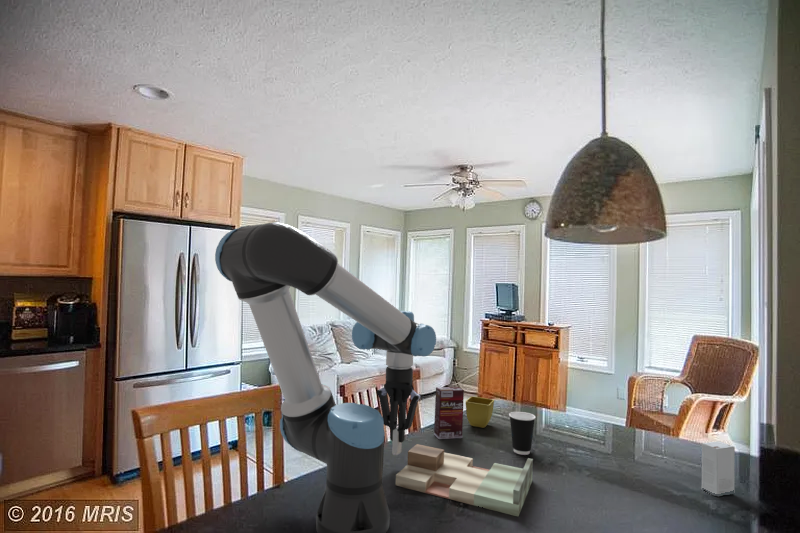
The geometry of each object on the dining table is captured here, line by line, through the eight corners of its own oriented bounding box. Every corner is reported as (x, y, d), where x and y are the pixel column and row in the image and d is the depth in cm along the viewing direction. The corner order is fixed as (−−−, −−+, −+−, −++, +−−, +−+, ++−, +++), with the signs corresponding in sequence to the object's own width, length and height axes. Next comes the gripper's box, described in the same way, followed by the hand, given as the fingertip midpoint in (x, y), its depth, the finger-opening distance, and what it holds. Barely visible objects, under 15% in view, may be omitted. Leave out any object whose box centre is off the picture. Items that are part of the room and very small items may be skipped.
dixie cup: (503, 448, 134) (503, 412, 134) (524, 445, 137) (525, 410, 137) (518, 458, 126) (518, 420, 127) (540, 455, 129) (541, 418, 130)
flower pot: (494, 424, 158) (494, 399, 158) (488, 431, 150) (489, 404, 150) (470, 420, 161) (471, 396, 162) (464, 426, 153) (465, 401, 154)
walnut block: (435, 471, 110) (436, 457, 110) (407, 464, 113) (407, 451, 113) (443, 462, 115) (444, 449, 115) (416, 456, 119) (416, 444, 119)
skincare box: (717, 487, 111) (717, 440, 112) (736, 495, 107) (735, 446, 107) (700, 490, 109) (700, 441, 110) (717, 498, 105) (717, 448, 106)
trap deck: (518, 516, 94) (518, 491, 94) (395, 485, 107) (396, 462, 107) (532, 480, 112) (532, 459, 112) (425, 457, 125) (426, 438, 125)
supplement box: (438, 440, 139) (439, 390, 140) (433, 434, 144) (434, 387, 145) (463, 438, 142) (464, 389, 142) (457, 433, 146) (458, 386, 147)
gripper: (426, 367, 120) (423, 453, 119) (384, 362, 125) (382, 444, 124) (415, 371, 113) (413, 462, 112) (372, 366, 118) (369, 453, 117)
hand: (396, 453), depth 118 cm, fingers closed
